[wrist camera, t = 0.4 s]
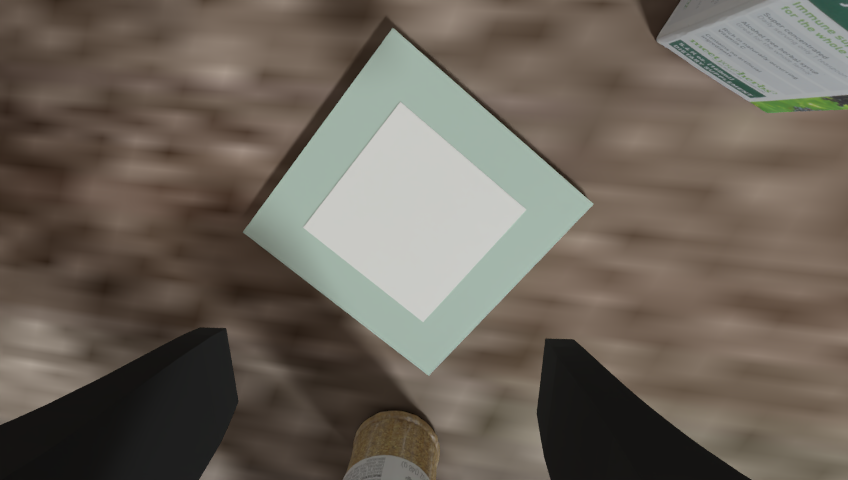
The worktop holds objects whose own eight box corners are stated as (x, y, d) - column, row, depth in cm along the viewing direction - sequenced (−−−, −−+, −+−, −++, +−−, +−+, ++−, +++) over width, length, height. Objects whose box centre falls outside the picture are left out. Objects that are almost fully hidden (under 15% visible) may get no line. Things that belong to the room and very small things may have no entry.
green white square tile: (429, 369, 23) (428, 376, 22) (248, 229, 21) (242, 232, 21) (589, 201, 20) (593, 204, 19) (394, 30, 19) (393, 27, 18)
